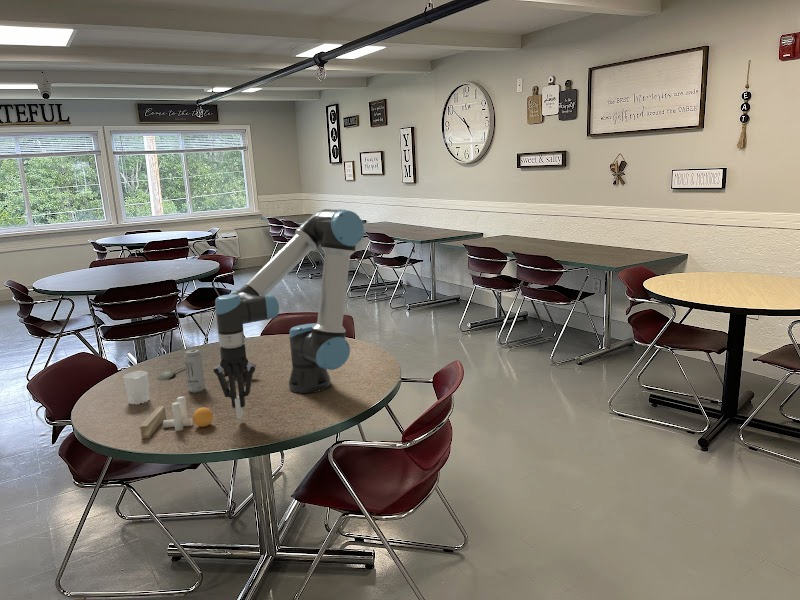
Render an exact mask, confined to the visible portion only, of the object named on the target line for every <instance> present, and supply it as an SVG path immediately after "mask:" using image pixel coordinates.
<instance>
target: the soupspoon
mask: <svg viewBox="0 0 800 600" xmlns="http://www.w3.org/2000/svg"><path fill="white" fill-rule="evenodd" d="M184 368H185V365H184V366H180V367H178V368H176V369H174V370H166V371H163V372H161V373H160V374H159V375H157V377H156V380H158V381H169V380H170V379H172V377H174V375H175V374H176V372H177V371H179V370H181V369H184Z"/></svg>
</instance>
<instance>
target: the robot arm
mask: <svg viewBox="0 0 800 600" xmlns="http://www.w3.org/2000/svg"><path fill="white" fill-rule="evenodd" d="M364 234H365V227H364V223H363V220H362V218H360V216H359V215H358V214H357V213H356V212H354V211H352V210H347V209H340V208H339V209H331V208H328V209H327V208H325V209H321V210H319V211H317V212H315V213H314V214H312V215H311V216H310V217H309V218H307V219H306V220H305V221H304V222H303V223H302V224H301V225H300V226H299V227H298V228H296V230H295V232H294V236H292V238H291V239H290V240H289V241H288V242H286V244H285V245H284V246H283V247H282V248H281V249H280V250H279V251H277V252H276V254H275V255H274V256H272V258H271V259H269V261H267V263H265V264H264V265H263V267H262V268H261V269H260V270H259V271H258V272H257V273H256V274H254V276H252V277H251V278H250V280H248V281H247V282H246V283H245V284H244V285H243V286H241V288H240V289H239V290H238V289H237V290H234V291H231V292H230V293H229V294H223V295H219V296H218V297H216V298H215V303H214V305H215V307H214V308H215V312H214V313H215V317H216V324H217V332H218V333H217V335H218V343H219V346H220V348H219V351H220V363H219V365H218V366H215V367H214V369H213V373H214V374H215V375H216V376H217V379H218V381H219V385H220V386H221V389H222V392H223V395H224V397H225V398H230V399H231V407H232V409H235V414H236V415H235V416H236V419H238V420H239V419H242V418H243V416H244V410H243V408H245V406H246V397H247V396H249V395H250V393H251V390H252V389H251V387H252V382H253V377H254V376H253V375H254V373H253V371H254V369H255V370H256V368H257V365H256V364H253V363H252V364H253V365H252V364H250V363H251V362H249V360H248V357H247V352H246V350H247V349H246V345H245V344H244V343H245V342H246V341H245V334H244V333H245V332H244V325H245V324H250V323H255V322H257V323H258V322H262V321H266V320H267V321H269V320H271V319H274V318H277V317H278V316H279V313H280V305H279V301H278V299H277V297H276V296H275V295H272V294H269V293H270V292H271V291H272V290H273V289H274V288H275V287H277V285H278V284H279V283H280V282H282V280H284V279H285V277H286V276H287V275H289V273H290V272H291V271H292V270H293V269H294V268H295V267H296V266H298V264H299V263H300V262H301V261H302V260H303V259H304V258H306V256H307V255H308V254H309V253H310V252H311V251H312V252H313V251H316V250H317V249H318V248H320V249H321V250H322V252H324V260H323V268H322V277H321V285H320V293H319V294H320V295H319V303H318V314H317V321H316V322H315V323H306V324H305V323H304V324H300V325H296V326H293V327H291V328H290V329H289V338H288V339H289V344H290V346H289V347H290V355H291V366H292V367H291V371H290V376H289V381H288V388H289V389H288V390H290V391H291V390H292V391H291V392H293V391H294V393H297V392H299V394H310V393H309V392H313V393H317V392H316V391H318V392H320V391H319V390H322V389H325V388H327V387H328V388H329V385H330V384H332V381H331V376H330V374H329V371H328V370H331V371H332V370H338V369H340V368H341V367H342V366H343V365H344V364H345V363H347V361H348V359H349V357H350V353H351V345H350V343H349V342H348V340H347V339H346V334H347V330H346V329H345V327H344V326H343V321H344V313H345V312H344V311H345V304H346V294H347V286H348V277H349V270H350V260H351V256H352V255H354V253H356V247H357V245H358V244H359V243H360V242H361V241H362V240H363V236H364ZM246 366H247V370H248V371H249V372H248V376H247V382H245V383H243V371H244V369H245V368H246ZM223 370H225V371H226V373H227V374H228V376H227V378H228V383H227V379H226V377H224V372H223ZM254 372H255V371H254ZM235 374H236V376H237V377H236V378H235V377H234V375H235ZM236 380H237V381H238V383H237V387H238V391H237V388H236V382H237V381H236ZM228 384H229V385H228ZM330 386H331V385H330ZM328 388H327V389H328ZM325 390H326V389H325ZM322 391H323V390H322ZM237 392H238V393H237ZM237 394H238V395H237Z"/></svg>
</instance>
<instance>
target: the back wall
mask: <svg viewBox="0 0 800 600" xmlns="http://www.w3.org/2000/svg"><path fill="white" fill-rule="evenodd" d="M166 418H167V413H166V406H165V405H159V406H157V407H156V408H155V409H154V411H153V412H152V413H151V414H150V415H149V416H148V417H147V418H146V420H145V421H143V423H142V424H141V425H139V426H140V427H139V428H140V434H141V439H142V438H146V439H150V437H151V436H152V435H153V434H152V433H154V432H155V431H156V430H157V429H158V428H159V427H160V426H161V424H163V420H166ZM157 427H158V428H157ZM156 428H157V429H156ZM151 434H152V435H151ZM150 435H151V436H150ZM149 436H150V437H149Z"/></svg>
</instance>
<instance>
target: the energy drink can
mask: <svg viewBox="0 0 800 600" xmlns="http://www.w3.org/2000/svg"><path fill="white" fill-rule="evenodd" d="M183 358H184V359H183V360H184V366H185V367H184V368H185V376H186V384H187V390H189V393H201V392H203V391H204V389H206V384H205V375H204V368H203V367H204V366H203V357H202V353H201V352H200V349H195V348H194V349H193V348H192V349H188V350H185V354H184V355H183Z"/></svg>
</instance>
